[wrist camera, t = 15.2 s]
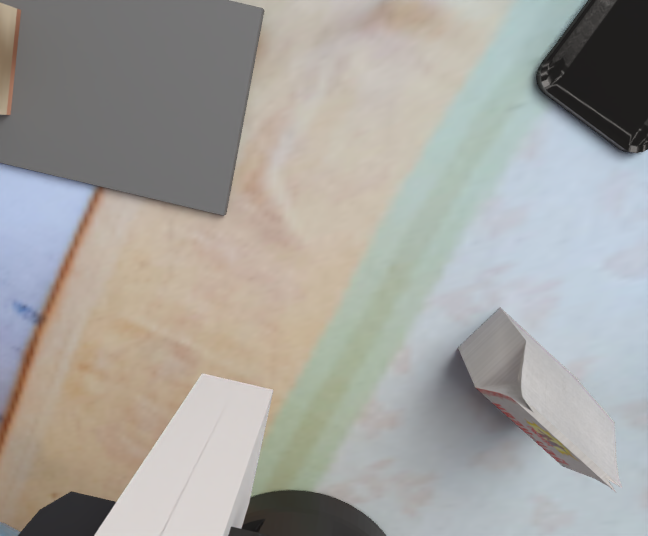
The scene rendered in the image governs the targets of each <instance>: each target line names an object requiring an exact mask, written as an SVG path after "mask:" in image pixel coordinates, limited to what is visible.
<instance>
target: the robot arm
mask: <svg viewBox="0 0 648 536" xmlns="http://www.w3.org/2000/svg"><path fill="white" fill-rule="evenodd" d="M272 394H273V390H272V389H268V388H264V387H259V386H255V385H251V384H246V383H242V382H238V381H233V380H229V379H224V378H220V377H216V376H211V375H207V374H203V373H202V374H201V376H200V377H199V379H198V380H197V382H196V383H195V385H194V386H193V388H192V389H191V391H190V392H189V394H188V395H187V397H186V398H185V400H184V401H183V403H182V404H181V406H180V407H179V409H178V410H177V412H176V413H175V415H174V416H173V418H172V419H171V421H170V422H169V424H168V425H167V427H166V428H165V430H164V431H163V433H162V434H161V436H160V437H159V439H158V440H157V442H156V443H155V445H154V446H153V448H152V449H151V451H150V452H149V454H148V455H147V457H146V458H145V460H144V461H143V463H142V464H141V466H140V467H139V469H138V470H137V472H136V473H135V475H134V476H133V478H132V479H131V481H130V482H129V484H128V485H127V487H126V488H125V490H124V491H123V493H122V494H121V496H120V497H119V499H118V501H117V502H114V501H110V500H106V499H101V498H97V497H93V496H88V495H84V494H80V493H76V492H69V493H68V494H66V495H64V496H63V497H61V498H59V499H58V500H56V501H54V502H52V503H51V504H49V505H47V506H46V507H44V508H42V509H40V510H39V511H38V513H37V514H36V515H35V516H34V517H33V518H32V520H31V521H30V522H29V523H28V524H27V525H26V527H25V528H24V529H23V530H22V531H21V532H20V531H18V530H16V529H14V528H12V527H10V526H9V525H7V524H5V523H2V522H0V536H386V535H385V534H384V532H383V531H382V530H381V529H380V528H379V527H378V526H377V525H376V524H375V523H374V522H373V521H372V520H371V519H370V518H369V517H367V516H366V515H365V514H363V513H362V512H360V511H359V510H357V509H356V508H354V507H352V506H351V505H349V504H347V503H345V502H342V501H340V500H338V499H335V498H332V497H329V496H326V495H322V494H318V493H313V492H306V491H278V492H271V493H266V494H262V495H258V496H255V497H252V498H250V497H251V492H252V488H253V483H254V478H255V473H256V469H257V464H258V459H259V455H260V450H261V445H262V441H263V436H264V431H265V427H266V422H267V417H268V412H269V408H270V403H271V398H272Z"/></svg>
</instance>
